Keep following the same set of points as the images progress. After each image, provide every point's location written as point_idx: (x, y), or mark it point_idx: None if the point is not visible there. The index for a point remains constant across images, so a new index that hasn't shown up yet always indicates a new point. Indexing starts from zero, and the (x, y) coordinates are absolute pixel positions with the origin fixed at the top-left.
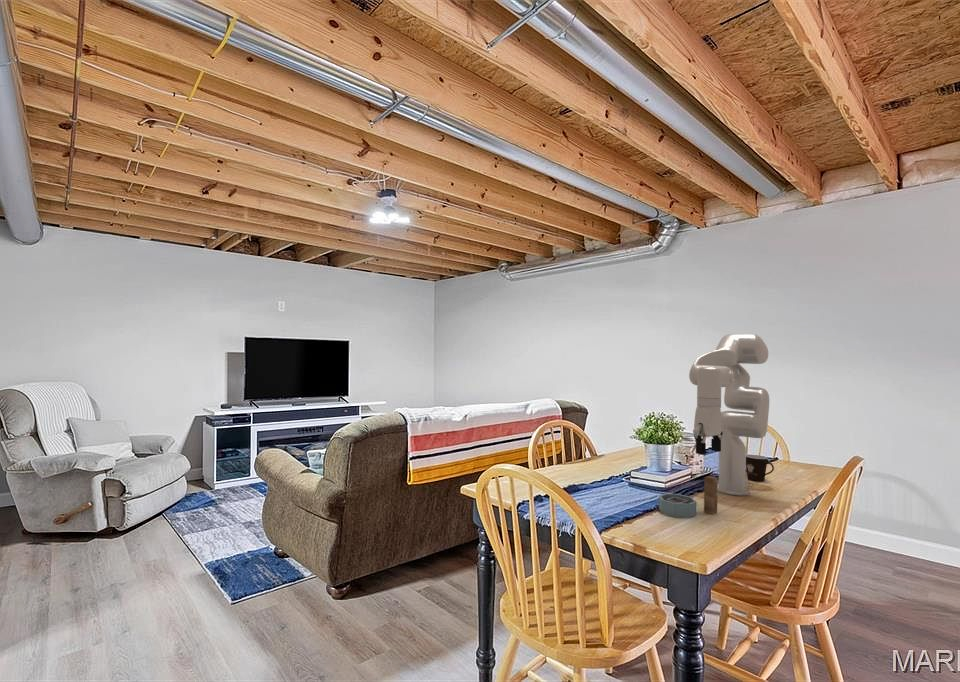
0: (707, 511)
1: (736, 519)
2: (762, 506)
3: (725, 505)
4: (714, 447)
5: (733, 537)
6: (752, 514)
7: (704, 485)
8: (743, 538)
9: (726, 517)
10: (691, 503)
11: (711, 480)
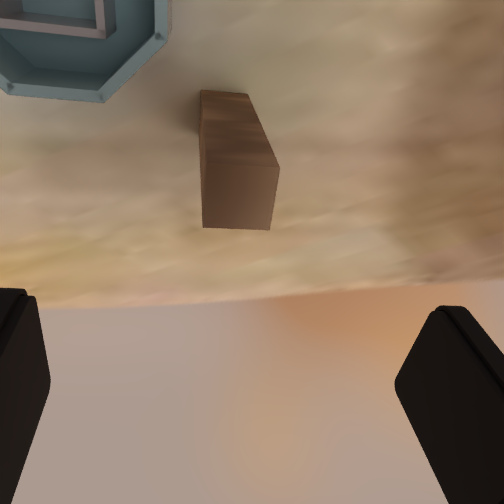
0: (200, 111)
1: None
2: (475, 225)
3: (396, 118)
4: (434, 372)
5: None
6: (337, 238)
7: (204, 139)
8: None
9: None
10: (39, 97)
11: (203, 210)
